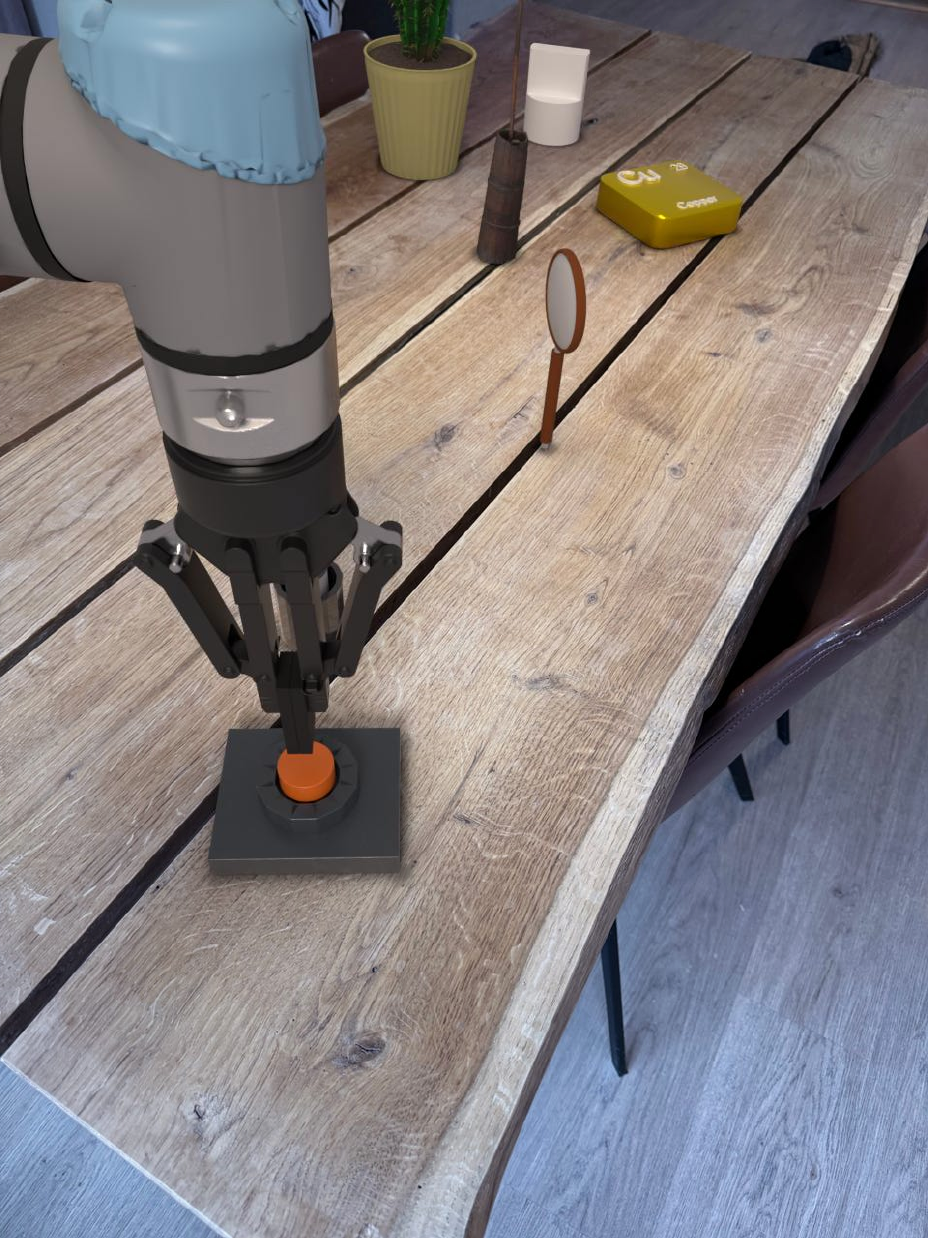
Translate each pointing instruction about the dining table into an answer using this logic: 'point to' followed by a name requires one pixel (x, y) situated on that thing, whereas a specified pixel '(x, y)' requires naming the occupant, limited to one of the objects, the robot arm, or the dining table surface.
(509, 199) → the butter churn
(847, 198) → the dining table surface
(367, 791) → the station
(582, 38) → the dining table surface
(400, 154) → the potted cactus
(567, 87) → the base with upright slab
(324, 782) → the button
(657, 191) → the element tile
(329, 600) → the holder
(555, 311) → the magnifying glass
